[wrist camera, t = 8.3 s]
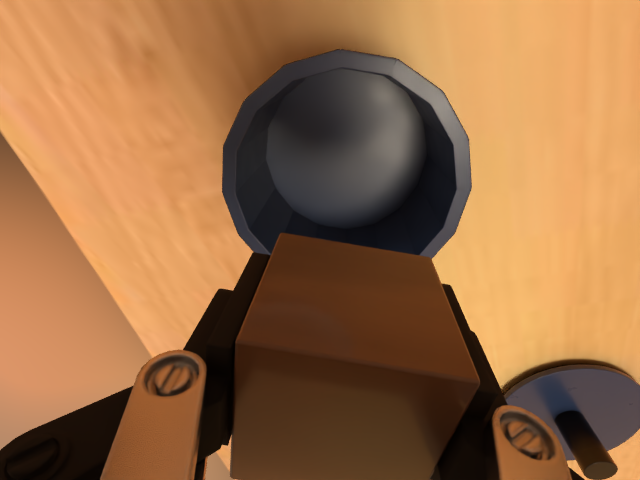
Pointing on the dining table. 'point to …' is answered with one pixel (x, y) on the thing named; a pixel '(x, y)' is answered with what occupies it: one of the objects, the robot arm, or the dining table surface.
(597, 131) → the dining table surface
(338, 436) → the block
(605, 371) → the lid
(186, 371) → the robot arm
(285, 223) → the tin
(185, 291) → the dining table surface
